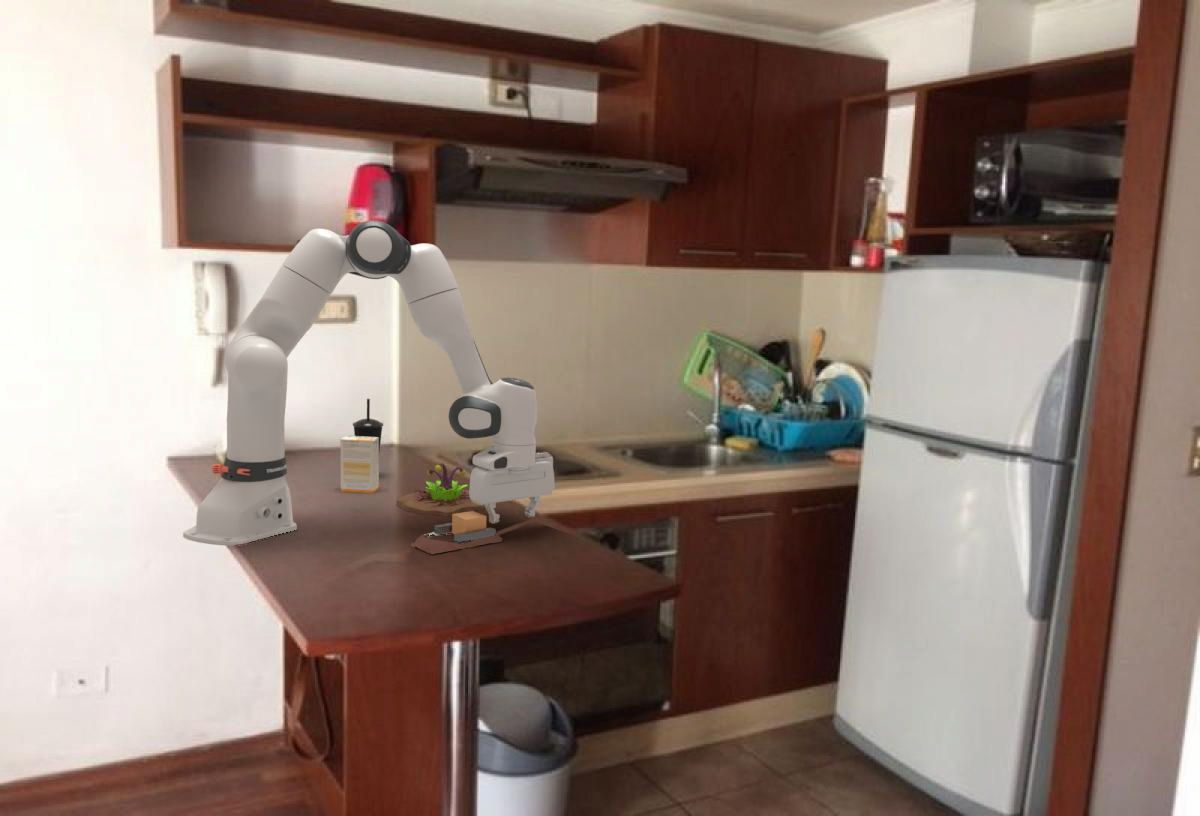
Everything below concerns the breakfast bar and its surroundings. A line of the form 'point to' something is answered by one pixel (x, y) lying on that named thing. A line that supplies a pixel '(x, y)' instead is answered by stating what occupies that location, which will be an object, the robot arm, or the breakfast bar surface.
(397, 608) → the breakfast bar surface
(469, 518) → the orange block
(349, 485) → the supplement box
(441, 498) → the plant
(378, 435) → the drinking cup
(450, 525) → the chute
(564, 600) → the breakfast bar surface
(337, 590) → the breakfast bar surface
